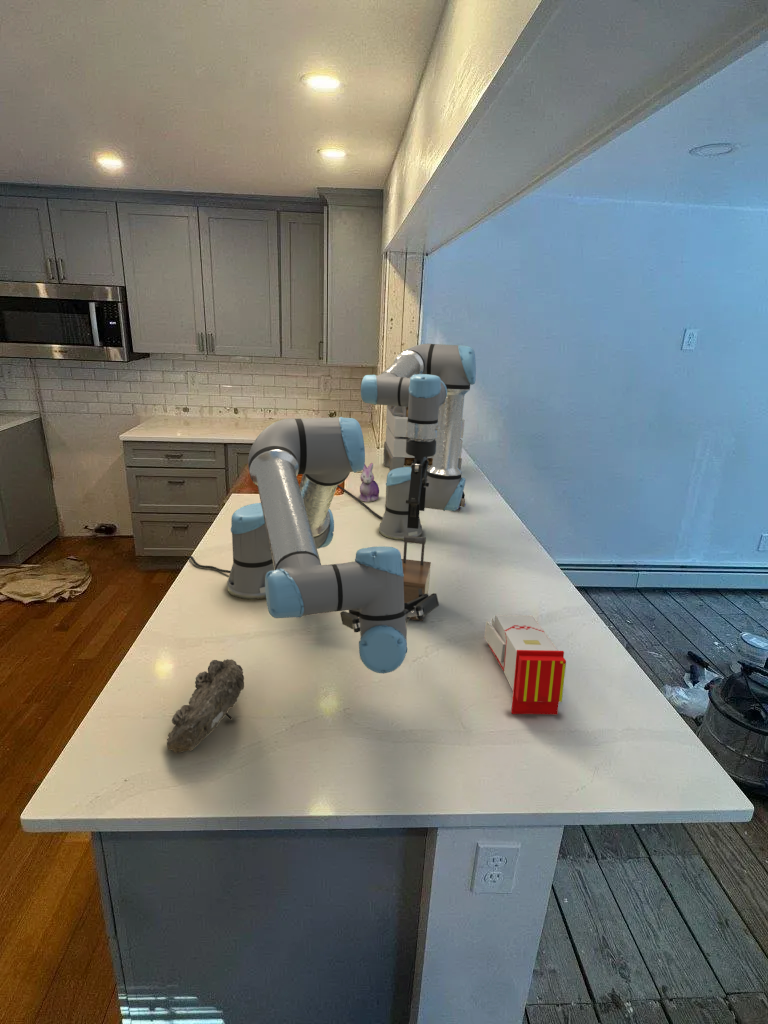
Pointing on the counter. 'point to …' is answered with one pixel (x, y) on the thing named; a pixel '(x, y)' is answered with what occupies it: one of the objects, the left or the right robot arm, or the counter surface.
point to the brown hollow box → (415, 593)
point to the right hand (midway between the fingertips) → (416, 518)
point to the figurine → (368, 485)
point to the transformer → (402, 439)
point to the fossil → (206, 705)
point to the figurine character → (462, 501)
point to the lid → (415, 564)
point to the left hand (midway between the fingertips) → (390, 600)
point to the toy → (527, 663)
